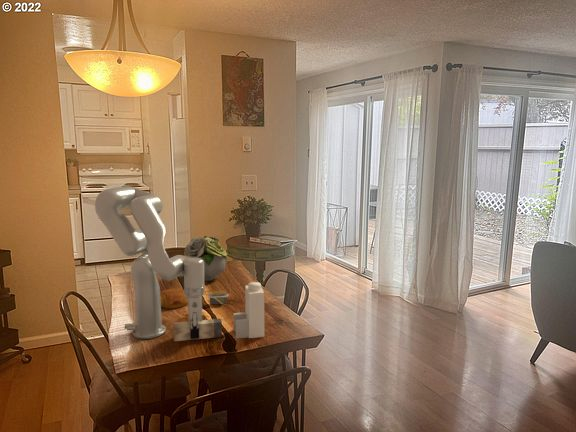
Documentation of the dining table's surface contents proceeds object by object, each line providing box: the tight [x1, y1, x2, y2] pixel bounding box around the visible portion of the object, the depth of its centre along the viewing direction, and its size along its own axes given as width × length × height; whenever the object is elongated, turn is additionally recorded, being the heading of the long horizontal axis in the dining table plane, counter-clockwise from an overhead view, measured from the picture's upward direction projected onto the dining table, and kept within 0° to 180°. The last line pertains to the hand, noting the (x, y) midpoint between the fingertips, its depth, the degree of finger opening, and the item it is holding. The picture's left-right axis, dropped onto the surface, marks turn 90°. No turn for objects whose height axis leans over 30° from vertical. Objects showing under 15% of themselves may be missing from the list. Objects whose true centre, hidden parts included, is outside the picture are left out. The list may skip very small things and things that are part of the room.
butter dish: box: [207, 290, 230, 305], centre depth 197 cm, size 12×18×7 cm, turn 99°
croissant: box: [160, 287, 188, 310], centre depth 197 cm, size 14×16×8 cm
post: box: [233, 281, 265, 339], centre depth 166 cm, size 11×10×20 cm
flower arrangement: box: [183, 235, 228, 282], centre depth 234 cm, size 25×25×24 cm
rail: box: [173, 318, 223, 342], centre depth 162 cm, size 18×4×6 cm, turn 103°
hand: (194, 335), depth 162 cm, fingers closed on rail, 3 cm apart
